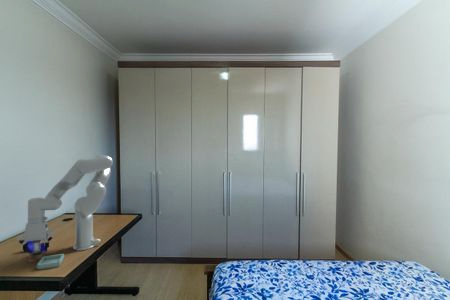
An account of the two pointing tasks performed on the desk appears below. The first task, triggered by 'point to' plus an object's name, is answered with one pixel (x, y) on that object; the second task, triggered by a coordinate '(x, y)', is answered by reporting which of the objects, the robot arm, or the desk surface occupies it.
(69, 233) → the desk surface
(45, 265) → the tray
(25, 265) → the desk surface
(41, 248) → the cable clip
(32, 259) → the socket
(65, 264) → the desk surface
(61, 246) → the desk surface
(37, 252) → the flashlight
